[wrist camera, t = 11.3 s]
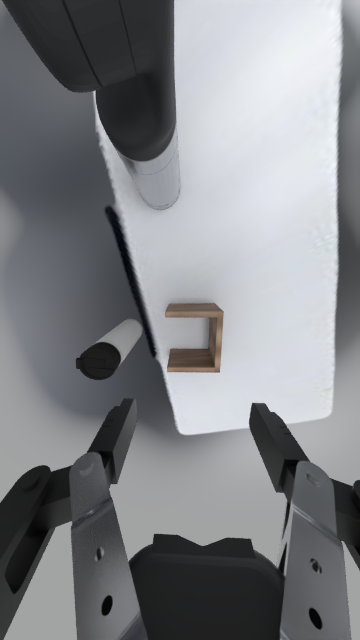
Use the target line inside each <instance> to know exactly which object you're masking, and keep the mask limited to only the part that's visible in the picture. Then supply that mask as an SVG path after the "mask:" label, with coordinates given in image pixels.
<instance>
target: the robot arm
mask: <svg viewBox="0 0 360 640" xmlns="http://www.w3.org/2000/svg"><path fill="white" fill-rule="evenodd" d="M2 1H3V2H4V4H5V6H6V8H7V9H8V11H9V12H10V14H11V16H12V17H13V19H14V20H15V22H16V24H17V25H18V27H19V28H20V30H21V31H22V33H23V34H24V36H25V37H26V39H27V40H28V42H29V43H30V45H31V46H32V48H33V49H34V51H35V52H36V54H37V55H38V56H39V58H40V59H41V61H42V62H43V63H44V65H45V66H46V67H47V68H48V70H49V71H50V72H51V74H52V75H53V76H54V77H55V78H56V79H57V80H58V81H59V82H60V83H61V84H62V85H63V86H64V87H65V88H67V89H68V90H70V91H72V92H81V93H83V92H91V91H95V90H96V104H97V109H98V113H99V117H100V120H101V123H102V125H103V127H104V129H105V131H106V133H107V135H108V137H109V139H110V140H111V142H112V144H113V145H114V147H115V149H116V151H117V153H118V154H119V156H120V158H121V160H122V161H123V163H124V165H125V167H126V169H127V171H128V172H129V174H130V176H131V178H132V180H133V181H134V183H135V185H136V187H137V189H138V191H139V192H140V194H141V196H142V198H143V199H144V201H145V202H146V203H147V204H148V205H149V206H150V207H152V208H154V209H159V210H162V209H166V208H169V207H170V206H172V205H173V204H174V203H175V201H176V200H177V198H178V195H179V192H180V172H179V154H178V136H177V120H176V100H175V78H174V0H2ZM136 410H137V409H136V399H134V398H124V399H123V401H122V403H121V405H120V406H115V407H114V408H113V409H112V410H111V411H110V412H109V413H108V415H107V417H106V419H105V421H104V422H103V424H102V427H101V428H100V430H99V431H98V433H97V435H96V437H95V439H94V441H93V442H92V444H91V446H90V448H89V450H88V451H87V453H86V454H84V455H83V456H81V457H80V458H78V459H77V460H76V462H75V463H74V464H73V465H71V466H69V467H66V468H62V469H59V470H56V471H53V472H51V470H50V468H49V467H48V466H45V465H42V466H37V467H35V468H33V469H31V470H29V471H28V472H26V473H25V474H24V475H22V476H21V477H20V478H19V479H18V480H17V482H16V483H15V484H14V486H13V487H12V488H11V490H10V491H9V492H8V494H7V495H6V496H5V497H4V499H3V500H2V501H1V503H0V640H3V639H4V637H5V635H6V633H7V630H8V628H9V626H10V624H11V622H12V620H13V618H14V616H15V613H16V611H17V609H18V607H19V604H20V603H21V600H22V598H23V596H24V594H25V592H26V590H27V588H28V586H29V583H30V581H31V579H32V577H33V575H34V573H35V570H36V568H37V566H38V564H39V562H40V560H41V558H42V555H43V553H44V551H45V549H46V547H47V545H48V543H49V541H50V538H51V536H52V534H53V532H54V530H55V527H57V526H60V525H62V524H65V523H67V522H70V521H72V526H71V542H72V558H73V559H72V560H73V577H74V593H75V611H76V628H77V640H351V631H350V618H349V608H348V596H347V584H346V573H345V561H344V551H343V545H342V542H341V541H344V542H345V544H346V546H347V548H348V550H349V552H350V554H351V555H352V557H353V559H354V561H355V563H356V564H357V566H358V568H359V570H360V480H357V481H355V483H354V485H353V486H350V485H348V484H345V483H342V482H339V481H336V480H334V479H331V478H329V477H328V475H327V474H326V473H325V472H324V471H323V470H322V469H321V468H320V467H318V466H317V465H315V464H313V463H311V462H310V461H309V459H308V458H307V456H306V455H305V453H304V452H303V450H302V449H301V447H300V446H299V444H298V443H297V441H296V440H295V438H294V437H293V435H291V432H290V431H289V429H288V428H287V426H286V425H285V423H284V422H283V420H282V419H281V418H280V417H279V416H278V415H277V414H276V413H275V412H270V410H269V409H268V407H267V406H266V404H265V403H252V406H251V413H250V419H249V426H250V430H251V433H252V435H253V438H254V440H255V443H256V445H257V447H258V450H259V452H260V455H261V457H262V459H263V462H264V464H265V467H266V469H267V471H268V474H269V476H270V478H271V481H272V483H273V486H274V488H275V491H276V492H280V493H284V494H285V496H286V498H287V502H286V507H285V514H284V521H283V528H282V535H281V542H280V548H279V553H278V557H277V562H276V566H275V565H274V564H273V563H272V562H271V561H270V560H269V559H267V558H266V557H265V556H263V555H262V554H260V553H258V552H257V551H255V550H253V546H252V542H251V539H244V538H224V539H222V540H219V541H217V542H214V543H211V544H209V545H206V546H200V545H198V544H196V543H194V542H192V541H189V540H187V539H185V538H183V537H181V536H179V535H168V534H167V535H166V534H154V538H153V544H151V545H148V546H146V547H145V548H143V549H141V550H140V551H139V552H138V553H136V554H135V555H134V556H133V557H132V558H131V559H130V561H129V562H128V559H127V555H126V551H125V547H124V543H123V540H122V535H121V531H120V527H119V524H118V520H117V515H116V511H115V507H114V504H113V500H112V498H111V495H110V491H109V488H110V485H111V484H117V482H118V479H119V476H120V473H121V470H122V467H123V464H124V461H125V458H126V455H127V452H128V448H129V445H130V442H131V439H132V436H133V433H134V430H135V427H136V422H137V411H136Z"/></svg>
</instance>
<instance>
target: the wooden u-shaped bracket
mask: <svg viewBox="0 0 360 640" xmlns="http://www.w3.org/2000/svg"><path fill="white" fill-rule="evenodd" d="M165 317H210V333H209V349H171V350H170V355H169V360H168V366H167V372H217V373H220V361H221V345H222V328H223V311H222V310H221V309H220V308H219V307H218V306H217V305H216V304H169V306H168V308H167V310H166V312H165Z"/></svg>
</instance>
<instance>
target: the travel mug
mask: <svg viewBox="0 0 360 640" xmlns="http://www.w3.org/2000/svg"><path fill="white" fill-rule="evenodd" d="M142 333H143V327H142V324H141V323H140V322H139V321H138V320H136V319H133V318H129V319H126V320H125V321H123V322H122V323H121V324H119V325H118V326H117V327H115V328H114V329H113V330H111V331H110V332H109V333H107V334H106V335H105V336H104V337H102V338H101V339H100V340H98V341H97V342H96V343H94V344H93V345H92V346H91V347H90V348H88V349H87V350H86V351H84V352H83V353H82V354H81V356H80V358H77V359H76V368H77V369H80V370H81V372H82V373H83V374H84V375H85V376H87V377H88V378H90V379H94V380H103V379H106V378H109V377H110V376H111V375H112V374H113V373H114V372H115V370H116V369H117V368H118V367H119V366H120V364H121V363H122V361H123V360H124V359H125V357H126V356H127V354H128V353H129V352H130V350H131V349H132V347H133V346H134V345H135V343H136V342H137V340H138V339H139V338H140V336H141V335H142Z"/></svg>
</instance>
